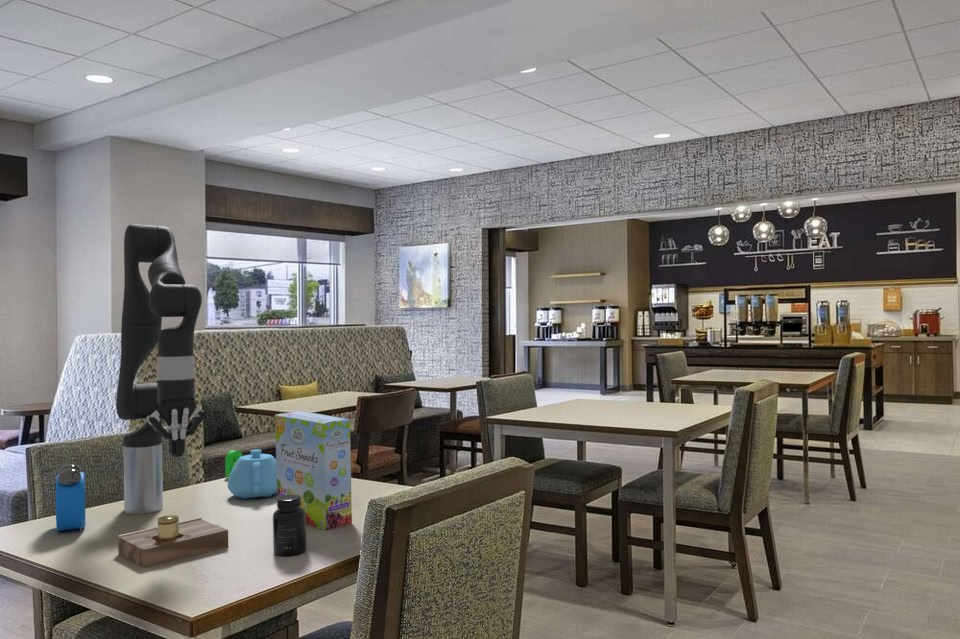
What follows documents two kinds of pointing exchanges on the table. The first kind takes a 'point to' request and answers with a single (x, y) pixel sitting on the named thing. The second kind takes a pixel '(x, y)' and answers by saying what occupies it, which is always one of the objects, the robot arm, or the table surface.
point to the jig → (172, 543)
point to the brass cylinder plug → (168, 528)
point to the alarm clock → (70, 498)
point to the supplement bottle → (289, 527)
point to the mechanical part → (231, 461)
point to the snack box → (315, 465)
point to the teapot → (254, 476)
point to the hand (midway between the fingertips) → (176, 456)
